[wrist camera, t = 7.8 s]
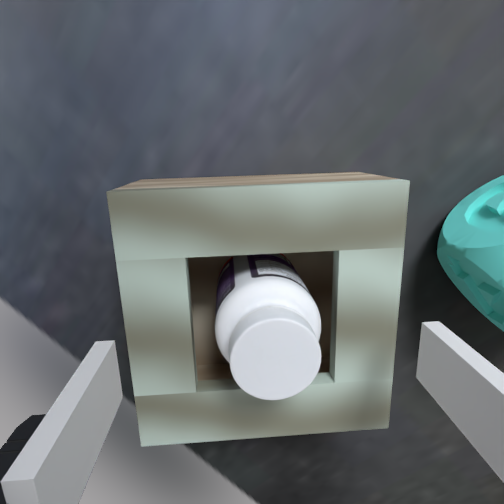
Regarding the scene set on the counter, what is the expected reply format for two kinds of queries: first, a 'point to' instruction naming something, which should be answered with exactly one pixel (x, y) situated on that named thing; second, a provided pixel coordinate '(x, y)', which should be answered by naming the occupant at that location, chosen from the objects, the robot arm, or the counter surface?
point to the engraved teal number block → (477, 249)
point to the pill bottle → (267, 325)
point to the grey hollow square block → (205, 286)
